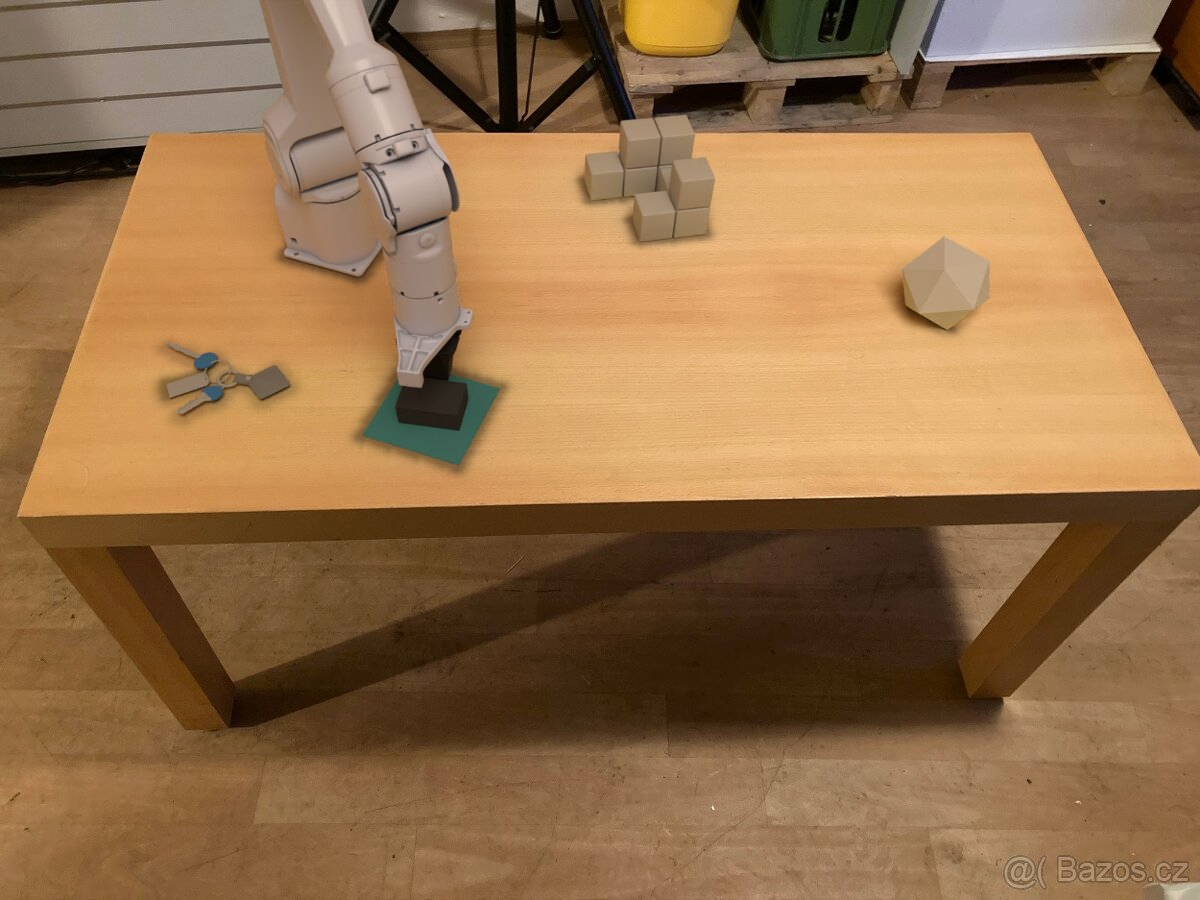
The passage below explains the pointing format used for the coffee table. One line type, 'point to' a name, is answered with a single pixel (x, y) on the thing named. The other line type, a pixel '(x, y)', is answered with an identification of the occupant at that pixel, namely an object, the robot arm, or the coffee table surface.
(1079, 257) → the coffee table surface
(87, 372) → the coffee table surface
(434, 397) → the eraser
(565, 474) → the coffee table surface
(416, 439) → the mat
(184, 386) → the key chain
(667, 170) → the grey cube cluster
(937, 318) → the die
